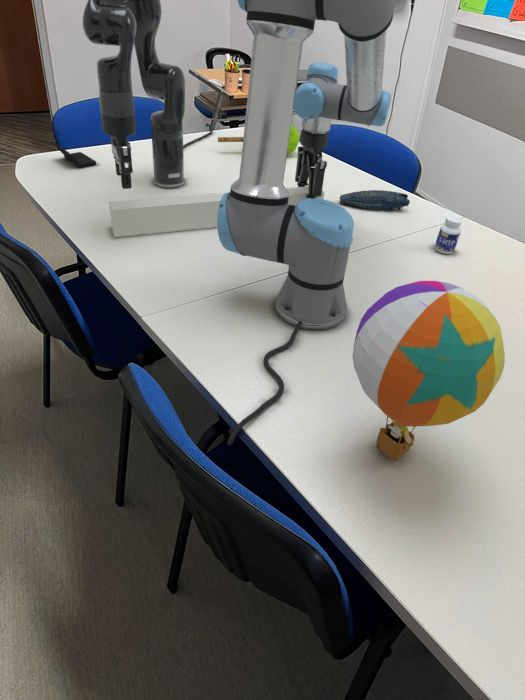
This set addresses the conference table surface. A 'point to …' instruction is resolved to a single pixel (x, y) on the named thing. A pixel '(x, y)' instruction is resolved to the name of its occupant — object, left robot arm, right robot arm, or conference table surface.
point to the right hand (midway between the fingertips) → (304, 212)
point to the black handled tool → (77, 158)
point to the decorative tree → (292, 144)
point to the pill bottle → (448, 235)
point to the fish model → (376, 199)
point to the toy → (426, 358)
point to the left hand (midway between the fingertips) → (123, 181)
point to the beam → (175, 213)
